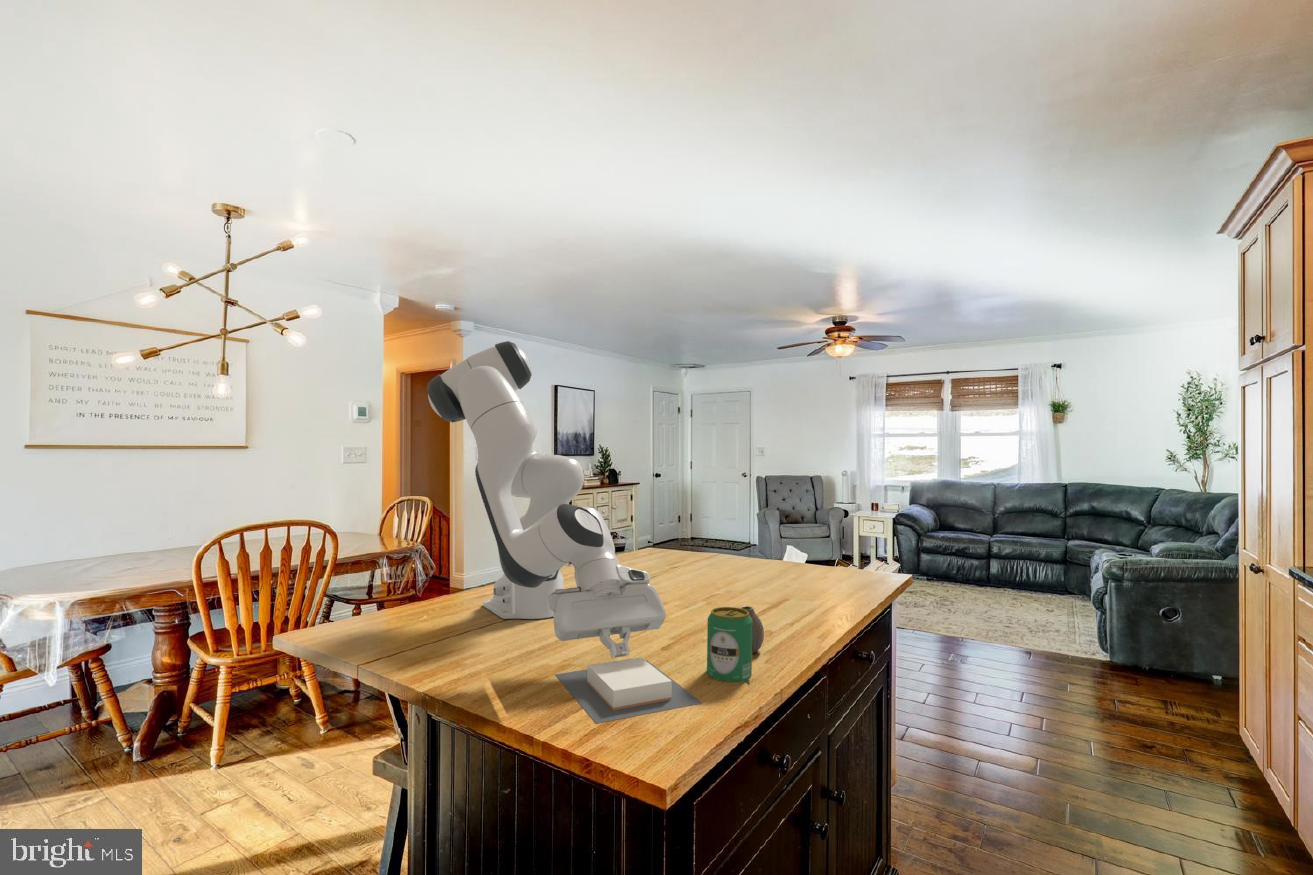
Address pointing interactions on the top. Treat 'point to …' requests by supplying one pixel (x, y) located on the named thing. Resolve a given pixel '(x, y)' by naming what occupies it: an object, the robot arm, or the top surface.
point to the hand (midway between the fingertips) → (620, 655)
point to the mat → (605, 713)
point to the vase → (755, 629)
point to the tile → (629, 683)
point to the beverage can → (729, 644)
